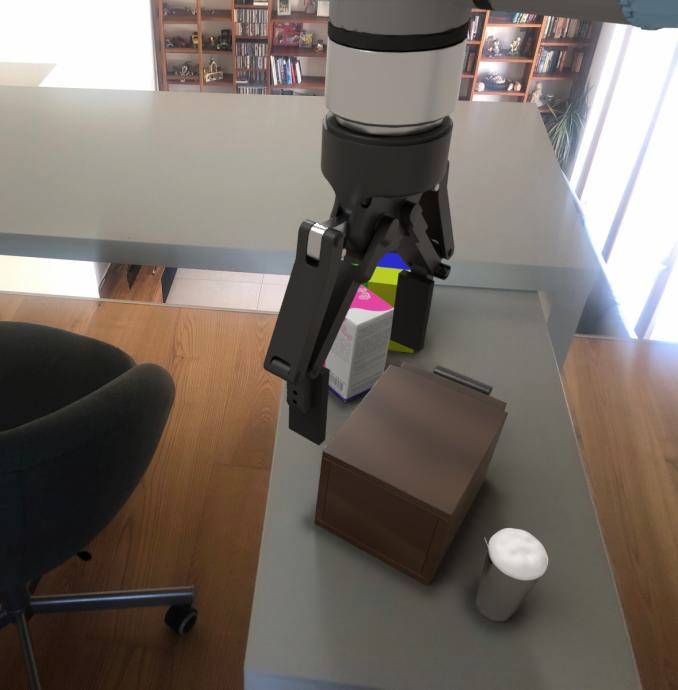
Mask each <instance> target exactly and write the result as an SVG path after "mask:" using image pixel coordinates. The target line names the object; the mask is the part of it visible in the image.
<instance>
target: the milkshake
mask: <svg viewBox="0 0 678 690" xmlns="http://www.w3.org/2000/svg"><path fill="white" fill-rule="evenodd" d="M484 542H485V545H486V547H487V550H486V554H485V560H484V564H483V568H482V571H481V575H480V579H479V583H478V586H477V589H476V593H475V594H476V596H475V606H476V607H477V609H478V611H479V612H480V614H481V615H482V616H484V617H485V618H487V619H489V620H491V621H492V622H506V621H508V620H509V619H510V618H511V617H512V616H513V615H514V614H515V613H516V612H517V610H518V609H519V608H520V606H521V604H522V603H523V601H525V599H526V597H527V596H528V594H529V593H530V592H531V590H532V589H533V588H534V586H535V585H536V584H537V583H538V581H539V580H540V579H541V578H542V576H543V575H544V574H545V573H546V571H547V569H548V567H549V556H548V553H547V551H546V549H545V547H544V545H543V544H542V542H541V541H540V540H538V538H536V537H535V536H534V535H533V534H531V533H530V532H528V531H526V530H524V529H519V528H513V527H506V528H502V529H500V530H498V531H497V532H495V533H494V534H493V535H492V536H491V537H490V539H489V541H488V542H487V538H486V537H485V536H484Z"/></svg>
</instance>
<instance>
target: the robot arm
mask: <svg viewBox="0 0 678 690" xmlns="http://www.w3.org/2000/svg"><path fill="white" fill-rule="evenodd" d="M328 3H329V4H328V16H327V43H326V45H327V46H326V59H325V60H326V61H325V78H324V79H325V80H324V96H323V97H324V98H323V100H324V101H323V102H324V106H325V108H326V109H327V110H328V112H327V113H326V114H325V116H324V117H323V118H322V124H321V125H322V127H321V149H320V171H321V174H322V176H323V178H325V180H326V181H327V182H328V184H329V185H330V186H331V188H332V190H333V193H334V195H335V197H334V201H333V207H332V209H331V211H330V214H329V219H327V220H326V221H323V222H321V223H319V222H316V221H313V220H310V219H308V218H307V219H304V220H303V221H302V222H301V223H300V224H299V227H298V232H297V239H296V249H295V259H294V262H293V265H292V269H291V272H290V274H289V279H288V282H287V285H286V289H285V292H284V294H283V298H282V302H281V305H280V307H279V311H278V313H277V314H278V315H277V318H276V321H275V325H274V328H273V330H272V334H271V337H270V341H269V343H268V347H267V351H266V354H265V357H264V360H263V365H262V366H263V367H262V368H263V369H264V371H266V372H268V373H270V374H272V375H274V376H276V377H278V378H279V379H282V380H283V381H285V382H286V404H287V405H288V430H290V431H292V432H294V433H296V434H298V435H299V436H301V437H302V438H304V439H306V440H308V441H310V442H312V443H313V444H314V445H316V446H321V445H322V444H323V443H324V442H325V441H326V438H327V437H326V436H327V421H328V404H329V403H328V402H329V390H330V388H329V374H330V369H328V368H326V367H324V366H323V365H324V363H325V361H326V358H327V356H328V354H329V352H330V350H331V348H332V345H333V343H334V341H335V339H336V337H337V334H338V332H339V330H340V328H341V326H342V324H343V321H344V319H345V317H346V315H347V313H348V310H349V308H350V306H351V304H352V302H353V300H354V297H355V295H356V293H357V291H358V289H359V287H360V285H361V284H362V283H366V282H368V281H370V279H371V278H372V276H373V273H374V271H375V269H376V267H377V265H378V263H379V261H380V260H381V259H382V258H383V257H384V256H385V254H386V253H387V252H390V251H393V250H396V251H397V253H398V254H399V256H400V257H401V259H402V260H403V262H404V264H405V265H406V266H407V267H409V268H411V271H410V272H409V271H407V270H404V269H403V270H402V271H401V272H399V273H398V281H397V288H396V296H395V304H394V312H393V319H392V327H391V335H390V340H392V341H394V342H396V343H398V344H401V345H403V346H405V347H407V348H410V349H412V350H414V351H413V352H417V353H420V352H421V351H423V349H424V348H425V343H426V337H427V330H428V325H429V318H430V313H431V306H432V301H433V294H434V289H435V282H436V281H435V280H434V279H435V278H436V279H439V280H442V281H446V280H447V279H448V278H449V276H450V274H451V270H452V265H449V264H446V263H444V262H442V260H443V259H444V260H446V261H449V260H451V258H452V257H453V256H454V253H455V239H454V230H453V221H452V216H451V214H452V213H451V208H450V198H449V192H448V190H449V189H448V182H449V174H450V173H449V172H450V160H449V154H450V147H451V142H452V137H453V129H454V122H453V119H452V118H451V116H450V115H451V114H452V113H454V112H455V110H456V109H457V107H458V103H459V97H460V92H461V91H460V90H461V84H462V78H463V69H464V64H465V57H466V49H467V43H468V35H469V30H470V23H471V14H472V10H473V9H479V10H481V11H491V12H497V11H498V12H506V13H515V14H517V13H518V14H524V15H534V16H543V17H553V18H562V19H570V20H580V21H589V22H597V23H609V24H617V25H627V26H632V27H635V28H639V29H640V30H642V31H658V30H662V29H678V0H329V1H328ZM345 254H346V255H347V256H348V257H350V258H353V259H355V260H358V261H361V263H360V264H359V265H353V264H350V263H348V262H345V261H343V259H344V256H345ZM342 258H343V259H342Z"/></svg>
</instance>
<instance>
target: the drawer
mask: <svg viewBox="0 0 678 690" xmlns="http://www.w3.org/2000/svg"><path fill="white" fill-rule="evenodd" d="M398 367H399V368H402V369H404V370H406V371H409V372H411V373H414V374H416V375H419V376H421V377H423V378H426V379H428V380H431V381H433V382H436V383H438V384H440V385H443V386H445V387H448V388H450V389H453V390H455V391H457V392H460V393H462V394H465V395H467V396H469V397H472V398H474V399H477V400H479V401H482V402H484V403H486V404H489V405H491V406H494V407H496V408H499V409H501V410H503V411H506V408H507V405H508V403H507V402H506V401H503V400H501V399H498V398H496V397H493V396H491V394H492V391H493V388H494V387H493V385H489V384H487V383H485V382H482V381H480V380H477V379H474V378H472V377H469V376H468V375H464V374H462V373H460V372H458V371H454V370H452V369H449V368H447V367H445V366H442V365H440V364H437V365H436V366H435V367H434V369H433V371H429V370H427V369H424V368H423V367H420V366H417V365H415V364H412V363H411V362H408V361H403V362H402V363H401V364H400V365H399V366H398Z"/></svg>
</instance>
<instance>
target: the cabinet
mask: <svg viewBox="0 0 678 690" xmlns="http://www.w3.org/2000/svg"><path fill="white" fill-rule="evenodd" d="M399 367H400V366H398V365H397V366H396V365H395V364H393V363H390V364H389V365H388V366H387V368H386V369H384V373H383V374H382V375H381V377H380V378H379V379H378V381H377V382H376V383H375V384H374V386H373V387H372V388H371V389H370V391H368V392H366V394H365V396H364V397H363V398H362V399H361V401H360V402H359V403H358V405H357V406H356V407H355V409H354V410H353V411H352V413H351V414H350V415H349V416H348V417H347V419H346V420H345V422H344V423H343V424H342V425H341V427H340V428H339V429H337V432H336V433H335V434H334V435H333V437H332V438H331V439H330V440H329V441H328V443H327V444H326V446H324V448H323V449H322V452H321V462H320V470H319V478H318V488H317V496H316V505H315V512H314V513H315V514H314V520H313V521H314V522H313V523H314V524H316V525H317V526H319V527H321V528H322V529H325V530H327V531H328V532H330V533H332V534H334V535H336V536H338V537H339V538H341V539H342V540H344V541H346V542H348V543H350V544H351V545H353V546H355V547H356V548H359V549H360V550H362V551H364V552H366V553H368V554H369V555H371V556H374V557H375V558H377V559H378V560H380V561H382V562H383V563H385V564H388V565H389V566H391V567H393V568H395V569H396V570H398V571H400V572H401V573H403V574H405V575H407V576H409V577H411V578H412V579H415V580H417V581H418V582H420V583H421V584H423V585H425V586H429V585H430V583H431V581H432V580H433V577H434V576H435V574H436V572H437V570H438V568H439V566H440V565H441V563H442V561H443V559H444V557H445V555H446V553H447V551H448V550H449V547H450V546H451V544H452V542H453V540H454V538H455V537H456V535H457V533H458V531H459V529H460V527H461V525H462V523H463V521H464V520H465V518H466V516H467V514H468V512H469V510H470V509H471V506H472V505H473V504H474V501H475V499H476V498H477V496H478V493H479V492H480V490H481V488H482V486H483V483H484V481H485V478H486V475H487V472H488V470H489V467H490V464H491V462H492V459H493V455H494V453H495V450H496V447H497V445H498V442H499V439H500V436H501V434H502V431H503V428H504V427H505V426H504V425H505V423H506V420H507V417H508V415H509V412H508V411H506V410H504V411H503V410H501V409H499V408H496V407H494V406H491V405H489V404H486V403H484V402H482V401H479V400H477V399H474V398H472V397H469V396H467V395H465V394H462V393H460V392H457V391H455V390H453V389H450V388H448V387H445V386H443V385H440V384H438V383H436V382H433V381H431V380H428V379H426V378H423V377H421V376H419V375H416V374H414V373H411V372H409V371H406V370H404V369H402V368H399Z"/></svg>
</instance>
